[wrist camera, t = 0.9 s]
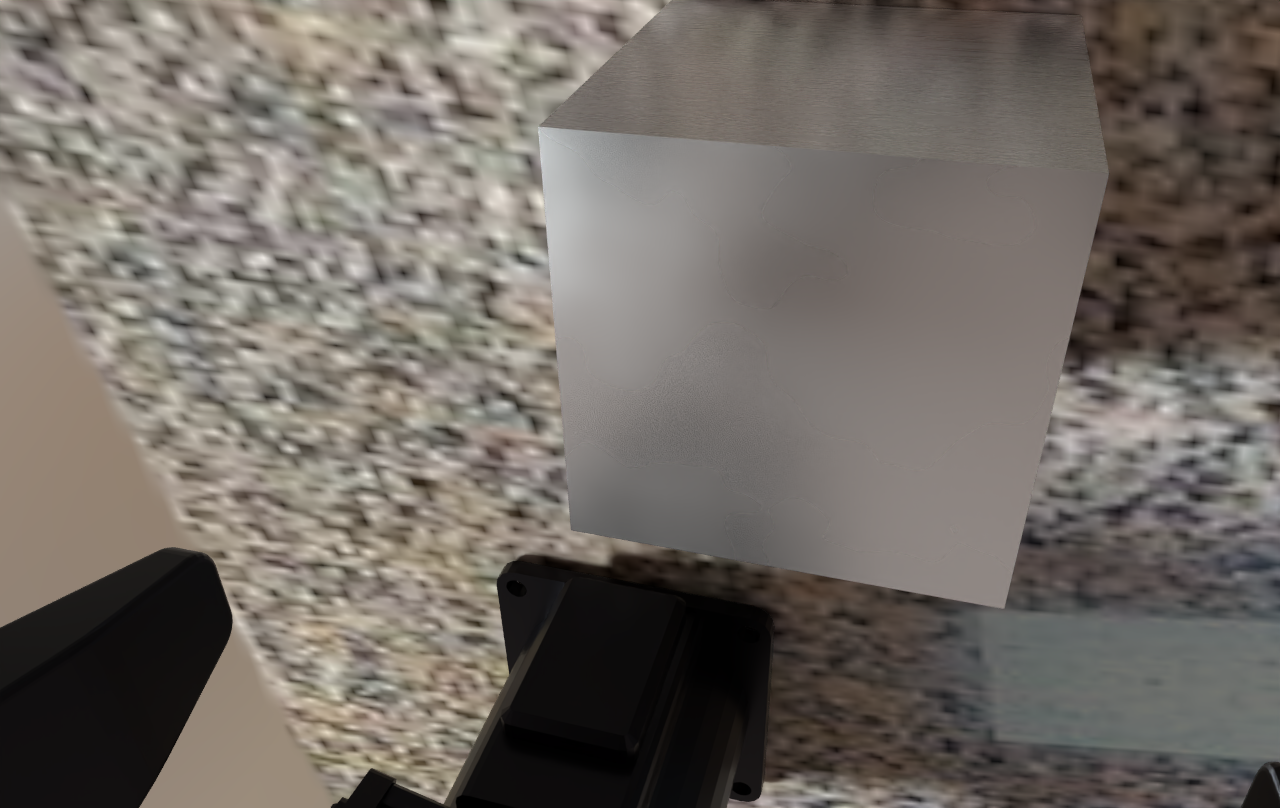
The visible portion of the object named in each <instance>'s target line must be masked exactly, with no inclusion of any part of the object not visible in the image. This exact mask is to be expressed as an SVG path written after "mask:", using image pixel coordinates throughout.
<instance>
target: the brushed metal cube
mask: <svg viewBox="0 0 1280 808" xmlns="http://www.w3.org/2000/svg"><path fill="white" fill-rule="evenodd" d="M538 131H539V144H540V156H541V168H542V180H543V192H544V205H545V217H546V229H547V241H548V253H549V266H550V278H551V290H552V302H553V314H554V327H555V339H556V351H557V363H558V375H559V388H560V400H561V412H562V424H563V436H564V449H565V461H566V473H567V485H568V497H569V510H570V522H571V530H573V531H578V532H584V533H589V534H595V535H600V536H606V537H611V538H617V539H622V540H628V541H633V542H639V543H644V544H650V545H655V546H661V547H666V548H672V549H677V550H683V551H688V552H694V553H699V554H705V555H710V556H716V557H721V558H726V559H732V560H737V561H743V562H748V563H754V564H759V565H765V566H770V567H776V568H781V569H787V570H792V571H798V572H803V573H809V574H814V575H820V576H825V577H831V578H836V579H842V580H847V581H853V582H858V583H864V584H869V585H875V586H880V587H886V588H891V589H897V590H902V591H908V592H913V593H919V594H924V595H930V596H935V597H941V598H946V599H952V600H957V601H963V602H968V603H974V604H979V605H985V606H990V607H996V608H1001V609H1004V608H1005V604H1006V599H1007V595H1008V591H1009V587H1010V583H1011V579H1012V575H1013V570H1014V566H1015V562H1016V558H1017V554H1018V550H1019V545H1020V541H1021V537H1022V533H1023V529H1024V525H1025V521H1026V516H1027V512H1028V508H1029V504H1030V500H1031V496H1032V492H1033V487H1034V483H1035V479H1036V475H1037V471H1038V467H1039V463H1040V458H1041V454H1042V450H1043V446H1044V442H1045V438H1046V433H1047V429H1048V425H1049V421H1050V417H1051V413H1052V409H1053V404H1054V400H1055V396H1056V392H1057V388H1058V384H1059V380H1060V375H1061V371H1062V367H1063V363H1064V359H1065V355H1066V351H1067V346H1068V342H1069V338H1070V334H1071V330H1072V326H1073V322H1074V317H1075V313H1076V309H1077V305H1078V301H1079V297H1080V292H1081V288H1082V284H1083V280H1084V276H1085V272H1086V268H1087V263H1088V259H1089V255H1090V251H1091V247H1092V243H1093V239H1094V234H1095V230H1096V226H1097V222H1098V218H1099V214H1100V210H1101V205H1102V201H1103V197H1104V193H1105V189H1106V185H1107V180H1108V176H1109V169H1108V164H1107V158H1106V152H1105V147H1104V141H1103V136H1102V130H1101V124H1100V119H1099V113H1098V107H1097V102H1096V96H1095V90H1094V85H1093V79H1092V74H1091V68H1090V62H1089V57H1088V51H1087V45H1086V40H1085V34H1084V28H1083V23H1082V17H1081V15H1063V14H1041V13H1020V12H999V11H978V10H956V9H935V8H914V7H893V6H872V5H850V4H829V3H808V2H787V1H765V0H671V1H670V2H669V3H668V4H667V5H666V6H665V7H664V8H663V9H662V10H661V11H660V12H659V13H658V14H657V15H655V16H654V17H653V18H652V19H651V20H650V21H649V22H648V23H647V24H646V25H645V26H644V27H643V28H642V29H641V30H640V31H639V32H638V33H636V34H635V35H634V36H633V37H632V38H631V39H630V40H629V41H628V42H627V43H626V44H625V45H624V46H623V47H622V48H621V49H620V50H619V51H617V52H616V53H615V54H614V55H613V56H612V57H611V58H610V59H609V60H608V61H607V62H606V63H605V64H604V65H603V66H602V67H601V68H600V69H599V70H597V71H596V72H595V73H594V74H593V75H592V76H591V77H590V78H589V79H588V80H587V81H586V82H585V83H584V84H583V85H582V86H581V87H580V88H578V89H577V90H576V91H575V92H574V93H573V94H572V95H571V96H570V97H569V98H568V99H567V100H566V101H565V102H564V103H563V104H562V105H561V106H559V107H558V108H557V109H556V110H555V111H554V112H553V113H552V114H551V115H550V116H549V117H548V118H547V119H546V120H545V121H544V122H543V123H542V124H541V125H539V126H538Z"/></svg>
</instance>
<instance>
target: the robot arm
mask: <svg viewBox="0 0 1280 808" xmlns="http://www.w3.org/2000/svg"><path fill="white" fill-rule="evenodd" d="M517 581H518V582H521V583H522V584H520V583H518V582H517ZM497 590H498V597H499V604H500V611H501V619H502V626H503V633H504V640H505V647H506V654H507V661H508V668H509V677H508V678H507V680H506V682H505V684H504V686H503V688H502V690H501V692H500V694H499V696H498V698H497V700H496V702H495V704H494V706H493V708H492V710H491V712H490V714H489V716H488V718H487V720H486V722H485V724H484V726H483V728H482V730H481V732H480V734H479V736H478V738H477V740H476V741H475V743H474V745H473V747H472V749H471V751H470V753H469V755H468V757H467V759H466V761H465V763H464V765H463V767H462V769H461V771H460V773H459V775H458V777H457V779H456V781H455V783H454V785H453V787H452V789H451V791H450V793H449V795H448V797H447V799H446V801H445V803H444V804H441V803H439V802H437V801H434V800H432V799H430V798H427V797H425V796H423V795H421V794H418V793H416V792H414V791H411V790H409V789H407V788H404V787H402V786H400V785H398V784H396V778H394V777H391V776H389V775H387V774H384V773H382V772H380V771H378V770H375V769H373V768H371V769H370V770H369V772H368V773H367V774H366V776H365V777H364V778H363V780H362V781H361V783H360V784H359V785H358V787H357V788H356V789H355V791H354V792H353V794H352V795H351V796H350V798H349V799H346V798H344V797H342V798H341V800H340V801H339V802H338V803H336V804H333V805H332V806H331V808H727V804H728V801H729V798H730V799H735V800H739V801H745V802H750V801H755V800H757V799H758V798H759V797H760V795H761V792H762V787H763V783H764V775H765V760H766V746H767V731H768V716H769V701H770V687H771V672H772V657H773V643H774V628H775V626H774V621H773V619H772V617H771V616H770V615H769V613H767V612H766V611H764V610H763V609H761V608H758V607H755V606H751V605H746V604H741V603H735V602H730V601H725V600H720V599H715V598H709V597H704V596H699V595H694V594H689V593H683V592H678V591H673V590H668V589H663V588H657V587H652V586H647V585H642V584H637V583H631V582H626V581H621V580H616V579H611V578H605V577H600V576H595V575H590V574H585V573H579V572H574V571H569V570H564V569H559V568H553V567H548V566H543V565H538V564H533V563H527V562H522V561H512V562H510V563H507V565H506V566H505V567H504V568H503V570H502V572H501V574H500V575H499V577H498V579H497ZM232 623H233V620H232V612H231V609H230V606H229V603H228V600H227V597H226V594H225V591H224V588H223V586H222V583H221V580H220V577H219V574H218V571H217V568H216V565H215V563H214V561H213V560H212V559H211V558H210V557H209V556H208V555H207V554H205V553H202V552H197V551H192V550H186V549H181V548H175V547H171V548H164V549H161V550H159V551H157V552H155V553H153V554H151V555H149V556H146V557H144V558H142V559H140V560H138V561H136V562H134V563H132V564H130V565H128V566H126V567H124V568H122V569H120V570H118V571H116V572H114V573H112V574H109V575H107V576H105V577H104V578H101V579H99V580H97V581H95V582H93V583H91V584H89V585H87V586H85V587H83V588H81V589H79V590H77V591H75V592H73V593H70V594H68V595H66V596H65V597H62V598H60V599H58V600H56V601H54V602H52V603H50V604H48V605H46V606H44V607H42V608H40V609H38V610H36V611H34V612H31V613H29V614H27V615H25V616H23V617H21V618H19V619H17V620H15V621H13V622H11V623H9V624H7V625H5V626H3V627H1V628H0V808H139V807H140V805H141V804H142V802H143V800H144V799H145V797H146V796H147V794H148V792H149V791H150V789H151V787H152V786H153V784H154V782H155V781H156V779H157V777H158V775H159V773H160V772H161V770H162V768H163V766H164V764H165V762H166V761H167V759H168V757H169V755H170V753H171V751H172V749H173V747H174V745H175V743H176V741H177V739H178V738H179V736H180V734H181V732H182V730H183V728H184V726H185V724H186V722H187V720H188V718H189V716H190V714H191V712H192V710H193V708H194V706H195V704H196V702H197V701H198V699H199V697H200V695H201V693H202V691H203V689H204V687H205V685H206V683H207V681H208V679H209V677H210V675H211V673H212V671H213V670H214V668H215V665H216V664H217V662H218V660H219V658H220V656H221V654H222V652H223V650H224V648H225V646H226V644H227V642H228V640H229V637H230V634H231V630H232ZM746 627H752V628H754V629H756V630H750V629H748V628H746ZM1241 808H1280V763H1279V762H1268V763H1266V764H1264V765H1263V766H1262V767H1261V768H1260V769H1259V770H1258V772H1257V774H1256V776H1255V778H1254V780H1253V782H1252V785H1251V787H1250V789H1249V791H1248V793H1247V795H1246V798H1245V800H1244V802H1243V804H1242V806H1241Z"/></svg>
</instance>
